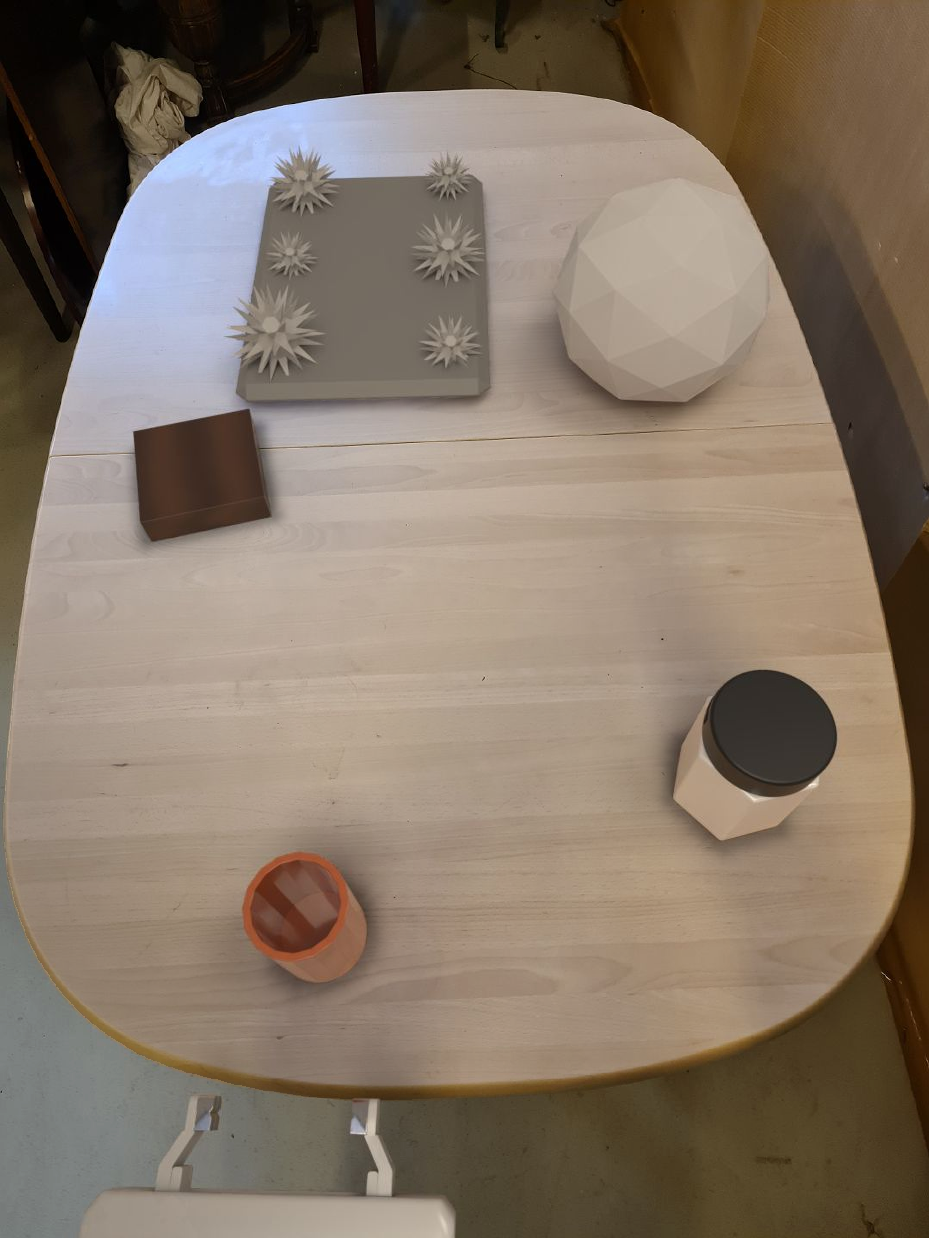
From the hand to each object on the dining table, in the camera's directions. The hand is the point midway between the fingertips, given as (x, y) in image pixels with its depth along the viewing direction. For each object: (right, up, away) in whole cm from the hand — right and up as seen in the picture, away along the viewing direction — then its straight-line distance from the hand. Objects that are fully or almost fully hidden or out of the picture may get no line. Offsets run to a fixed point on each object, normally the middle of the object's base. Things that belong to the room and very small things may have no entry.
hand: (286, 1096), depth 50 cm
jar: (+31, +15, +16) cm, 38 cm away
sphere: (+29, +53, +37) cm, 71 cm away
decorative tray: (0, +64, +44) cm, 77 cm away
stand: (-14, +41, +31) cm, 53 cm away
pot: (0, +6, +11) cm, 12 cm away
